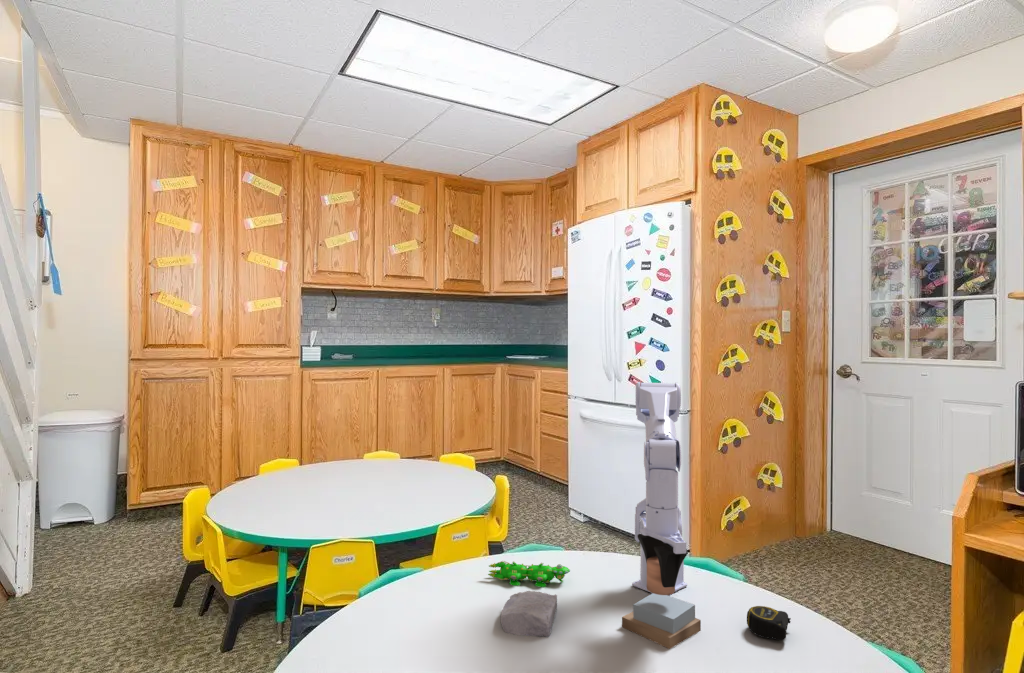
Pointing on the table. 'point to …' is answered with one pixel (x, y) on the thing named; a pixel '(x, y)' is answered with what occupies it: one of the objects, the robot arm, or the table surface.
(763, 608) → the tape measure
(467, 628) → the table surface
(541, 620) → the stone block
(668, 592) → the brown cylinder
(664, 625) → the tower top
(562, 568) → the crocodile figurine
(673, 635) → the tower base
